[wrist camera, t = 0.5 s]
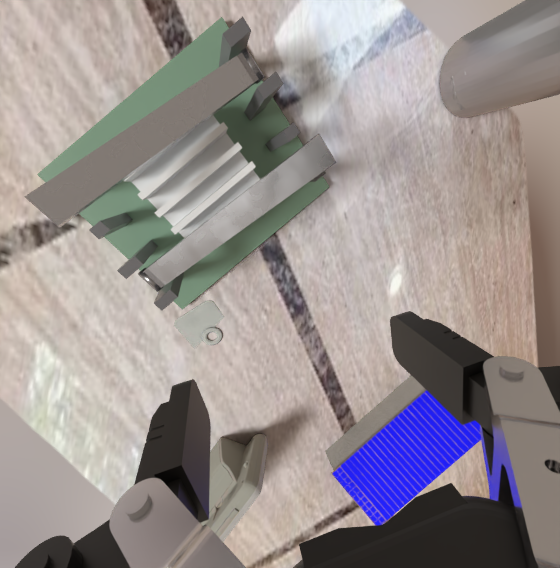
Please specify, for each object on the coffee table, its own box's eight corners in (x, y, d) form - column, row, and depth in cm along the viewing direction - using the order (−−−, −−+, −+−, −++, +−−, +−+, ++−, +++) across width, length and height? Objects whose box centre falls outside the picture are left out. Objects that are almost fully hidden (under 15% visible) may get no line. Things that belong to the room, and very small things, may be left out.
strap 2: (318, 131, 21) (318, 133, 20) (335, 161, 22) (337, 163, 21) (140, 270, 28) (136, 275, 27) (159, 288, 29) (155, 293, 28)
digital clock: (212, 505, 50) (214, 583, 40) (169, 485, 46) (160, 565, 36) (280, 441, 49) (298, 505, 39) (241, 416, 45) (252, 479, 36)
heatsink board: (221, 22, 30) (228, -48, 21) (326, 186, 37) (363, 187, 28) (42, 174, 30) (-27, 170, 21) (183, 306, 38) (176, 343, 29)
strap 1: (243, 52, 24) (248, 45, 24) (261, 80, 25) (266, 75, 25) (26, 198, 18) (22, 195, 17) (61, 228, 19) (59, 227, 18)
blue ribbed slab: (321, 450, 52) (346, 506, 43) (426, 357, 51) (475, 394, 42) (374, 490, 59) (405, 546, 50) (467, 410, 58) (516, 451, 49)
